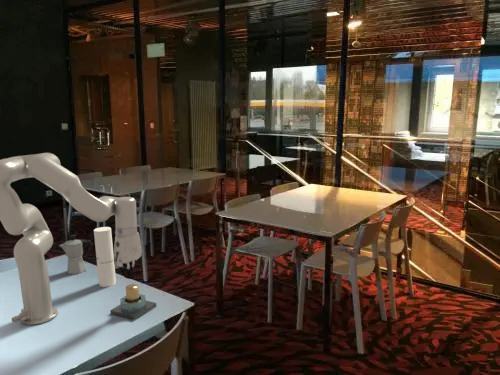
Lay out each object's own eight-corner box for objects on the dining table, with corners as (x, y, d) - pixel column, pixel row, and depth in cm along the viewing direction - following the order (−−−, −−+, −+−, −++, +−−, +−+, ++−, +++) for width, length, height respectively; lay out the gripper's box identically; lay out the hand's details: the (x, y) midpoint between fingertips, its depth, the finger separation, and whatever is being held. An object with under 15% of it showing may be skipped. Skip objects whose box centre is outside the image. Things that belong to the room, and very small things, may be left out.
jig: (135, 320, 155) (134, 308, 155) (110, 313, 161) (109, 302, 160) (156, 306, 166) (155, 295, 165) (132, 300, 171) (132, 290, 170)
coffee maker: (62, 276, 199) (57, 239, 196) (62, 270, 207) (58, 234, 204) (95, 271, 205) (92, 234, 202) (94, 265, 213) (91, 230, 210)
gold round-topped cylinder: (134, 310, 160) (132, 290, 159) (124, 307, 162) (123, 288, 161) (142, 305, 164) (140, 285, 163) (133, 302, 166) (131, 283, 165)
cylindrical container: (110, 279, 195) (105, 226, 190) (119, 282, 190) (114, 228, 186) (95, 284, 189) (90, 229, 185) (104, 288, 185) (99, 232, 180)
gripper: (119, 237, 149) (122, 286, 153) (148, 227, 162) (149, 272, 166) (103, 234, 153) (106, 282, 156) (133, 224, 166) (135, 269, 169)
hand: (128, 277), depth 161 cm, fingers closed
